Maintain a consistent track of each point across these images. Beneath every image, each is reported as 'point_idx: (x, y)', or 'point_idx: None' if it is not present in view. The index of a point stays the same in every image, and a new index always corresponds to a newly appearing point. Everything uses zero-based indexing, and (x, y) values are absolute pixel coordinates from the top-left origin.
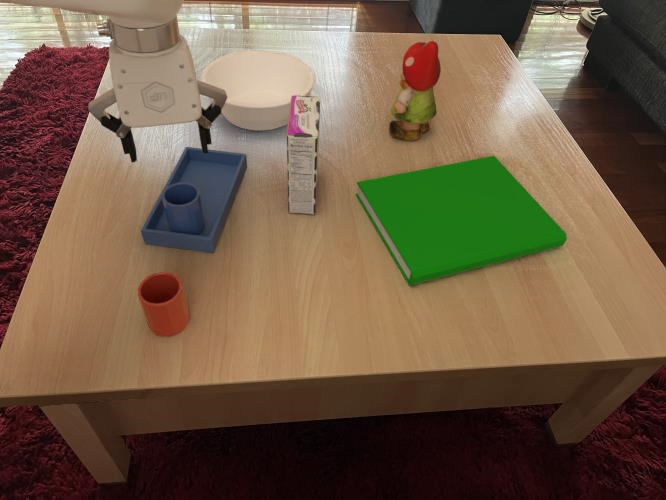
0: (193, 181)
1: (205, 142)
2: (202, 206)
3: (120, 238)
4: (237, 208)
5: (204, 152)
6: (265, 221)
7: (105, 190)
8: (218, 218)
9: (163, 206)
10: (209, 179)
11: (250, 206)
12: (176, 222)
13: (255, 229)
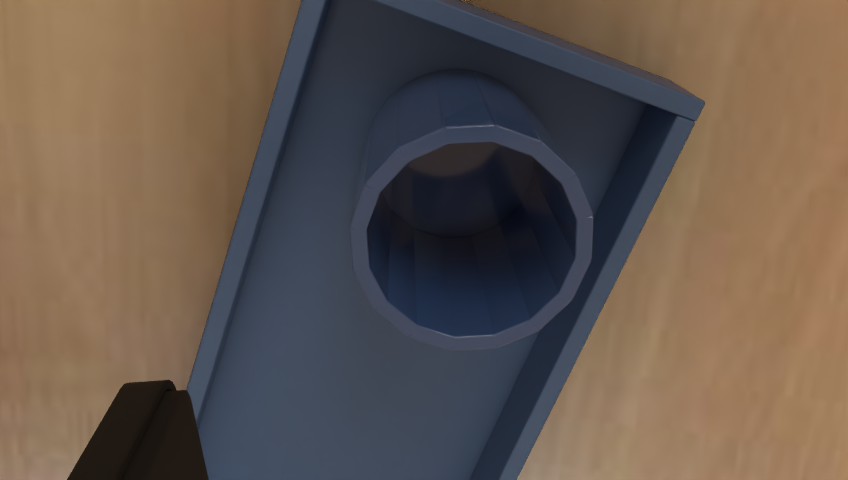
0: (407, 458)
1: (83, 477)
2: None
3: (778, 141)
4: (199, 262)
5: (162, 384)
6: (49, 148)
7: (800, 455)
8: (274, 132)
9: None
10: (331, 463)
11: (132, 267)
12: (511, 103)
13: (101, 96)
